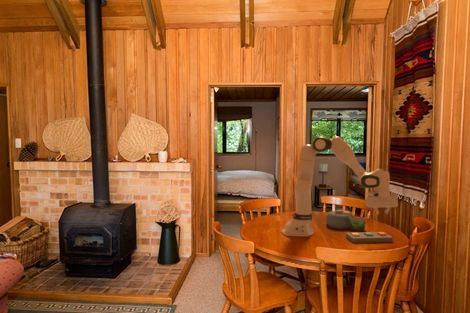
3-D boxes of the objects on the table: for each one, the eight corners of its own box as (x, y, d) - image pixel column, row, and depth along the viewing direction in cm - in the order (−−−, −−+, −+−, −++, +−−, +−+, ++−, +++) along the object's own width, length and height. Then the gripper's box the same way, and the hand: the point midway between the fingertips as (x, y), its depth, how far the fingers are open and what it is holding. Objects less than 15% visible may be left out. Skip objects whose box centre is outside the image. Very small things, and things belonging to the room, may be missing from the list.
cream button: (353, 237, 194) (353, 234, 194) (351, 235, 198) (351, 232, 198) (359, 237, 194) (359, 234, 194) (356, 235, 198) (356, 232, 198)
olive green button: (367, 237, 194) (367, 234, 194) (364, 235, 198) (364, 232, 198) (373, 236, 194) (373, 234, 194) (370, 235, 198) (370, 232, 198)
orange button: (380, 236, 195) (380, 233, 194) (377, 234, 199) (377, 232, 198) (386, 236, 195) (386, 233, 195) (383, 234, 199) (383, 231, 199)
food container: (348, 230, 216) (348, 217, 215) (348, 228, 222) (348, 215, 221) (367, 232, 211) (367, 218, 211) (366, 230, 217) (366, 216, 217)
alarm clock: (358, 226, 226) (358, 211, 225) (339, 230, 217) (339, 214, 216) (339, 221, 243) (339, 206, 242) (321, 224, 234) (321, 209, 234)
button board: (353, 242, 190) (353, 238, 190) (345, 237, 202) (345, 232, 202) (392, 241, 191) (392, 237, 191) (382, 236, 203) (382, 231, 203)
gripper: (394, 192, 199) (394, 212, 200) (365, 192, 198) (364, 212, 199) (400, 193, 193) (400, 214, 193) (369, 194, 192) (369, 215, 192)
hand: (381, 213), depth 196 cm, fingers open, 5 cm apart
